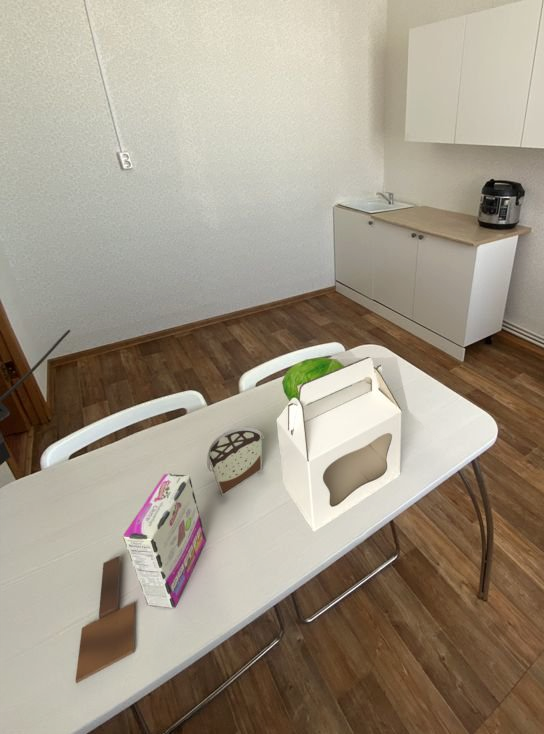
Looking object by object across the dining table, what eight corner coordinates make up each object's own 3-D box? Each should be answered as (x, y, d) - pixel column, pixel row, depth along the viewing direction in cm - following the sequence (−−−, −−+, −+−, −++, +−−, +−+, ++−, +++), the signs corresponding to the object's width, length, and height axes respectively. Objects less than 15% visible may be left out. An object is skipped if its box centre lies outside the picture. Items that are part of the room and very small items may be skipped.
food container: (253, 451, 91) (248, 417, 87) (267, 466, 87) (263, 431, 83) (202, 482, 83) (195, 446, 79) (215, 500, 79) (208, 463, 75)
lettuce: (362, 386, 113) (330, 340, 115) (364, 398, 93) (325, 341, 95) (314, 421, 112) (283, 373, 113) (306, 440, 92) (268, 382, 94)
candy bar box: (181, 539, 71) (164, 471, 65) (206, 540, 71) (191, 473, 65) (144, 608, 61) (120, 535, 55) (174, 610, 60) (153, 537, 55)
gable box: (365, 439, 94) (364, 339, 84) (401, 475, 84) (404, 365, 74) (282, 485, 82) (269, 374, 72) (312, 533, 72) (302, 411, 62)
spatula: (89, 574, 66) (87, 569, 65) (135, 554, 69) (134, 549, 68) (76, 683, 52) (73, 678, 52) (134, 652, 55) (132, 647, 55)
